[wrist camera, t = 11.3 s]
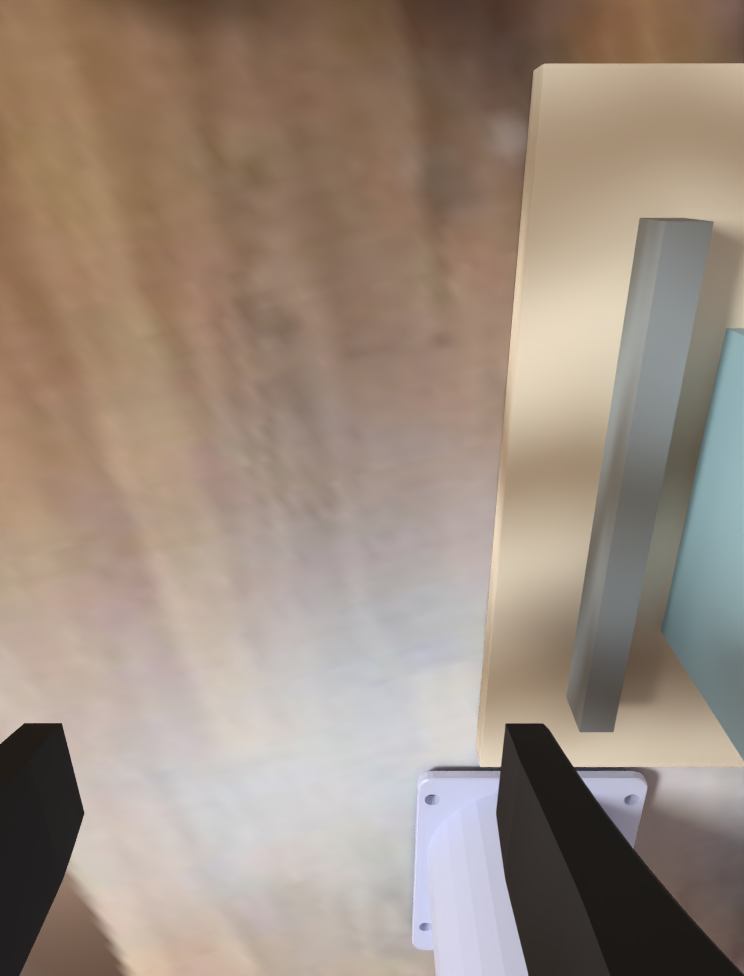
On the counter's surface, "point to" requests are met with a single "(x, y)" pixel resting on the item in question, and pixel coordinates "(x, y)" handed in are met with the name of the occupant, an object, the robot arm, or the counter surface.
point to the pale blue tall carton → (715, 554)
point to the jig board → (611, 406)
